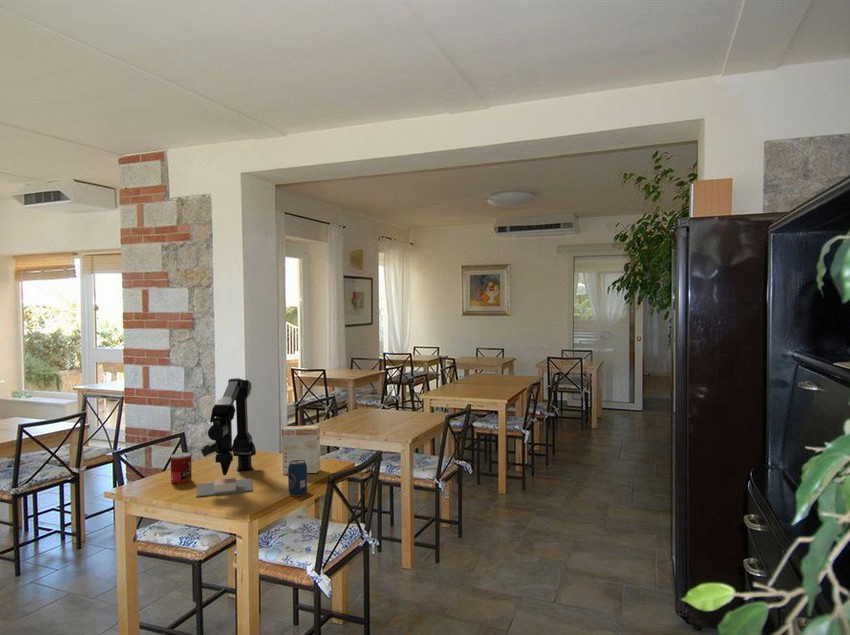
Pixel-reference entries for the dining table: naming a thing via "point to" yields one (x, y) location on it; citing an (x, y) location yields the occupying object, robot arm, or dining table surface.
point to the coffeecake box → (301, 446)
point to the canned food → (181, 468)
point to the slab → (224, 485)
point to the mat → (241, 486)
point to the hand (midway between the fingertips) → (224, 475)
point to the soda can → (297, 478)
